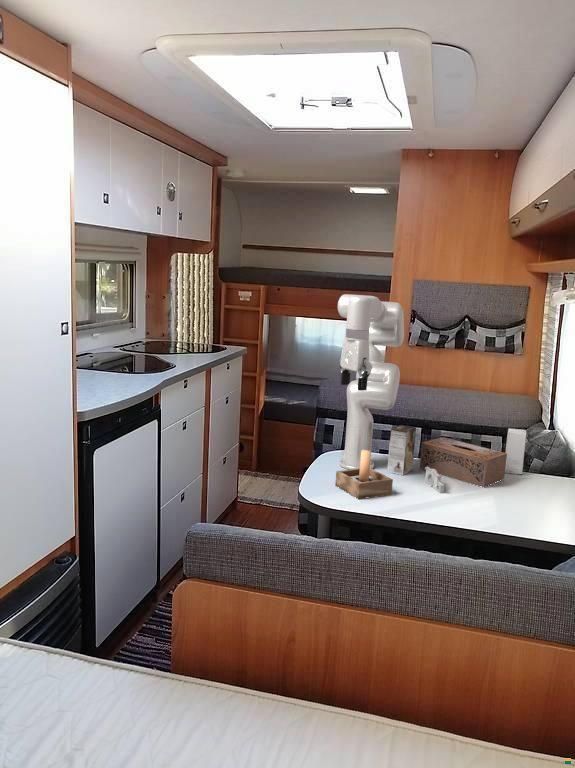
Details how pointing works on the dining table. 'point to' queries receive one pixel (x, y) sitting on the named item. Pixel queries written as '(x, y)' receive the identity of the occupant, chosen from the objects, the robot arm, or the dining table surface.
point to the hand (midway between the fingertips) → (353, 387)
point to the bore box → (363, 483)
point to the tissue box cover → (463, 461)
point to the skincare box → (515, 450)
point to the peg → (365, 466)
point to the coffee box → (401, 449)
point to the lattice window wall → (434, 479)
